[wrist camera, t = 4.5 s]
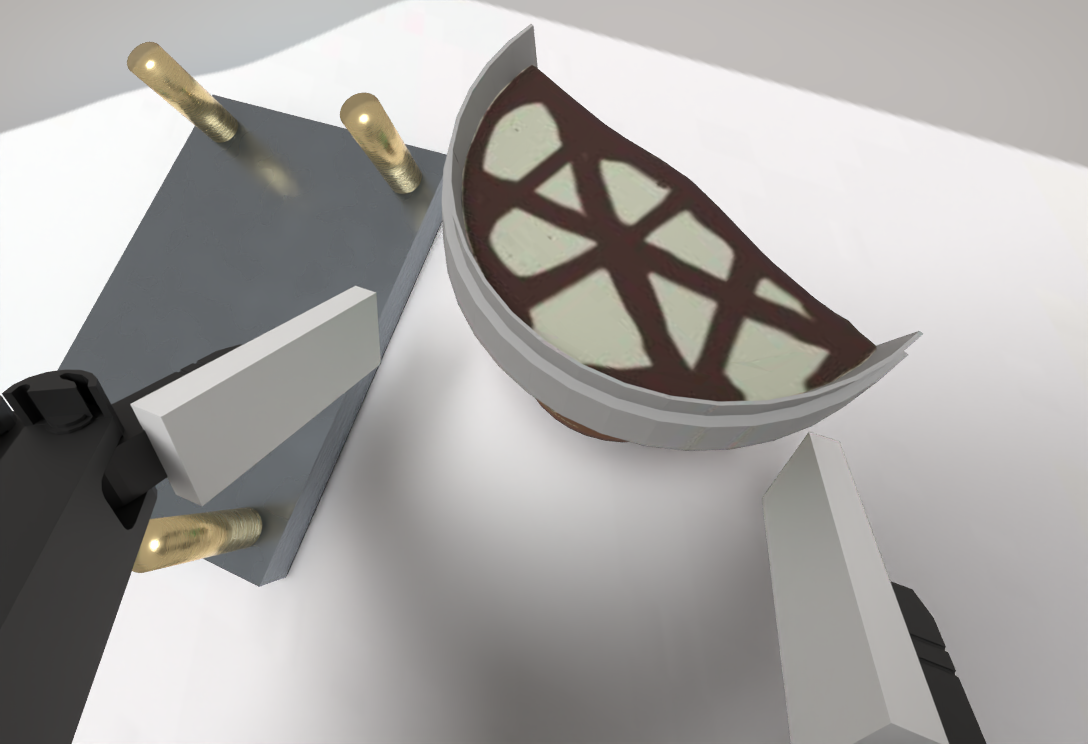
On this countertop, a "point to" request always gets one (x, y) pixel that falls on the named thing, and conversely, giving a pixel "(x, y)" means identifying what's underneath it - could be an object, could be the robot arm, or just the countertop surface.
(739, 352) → the food container
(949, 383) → the countertop surface
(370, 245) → the post plate
